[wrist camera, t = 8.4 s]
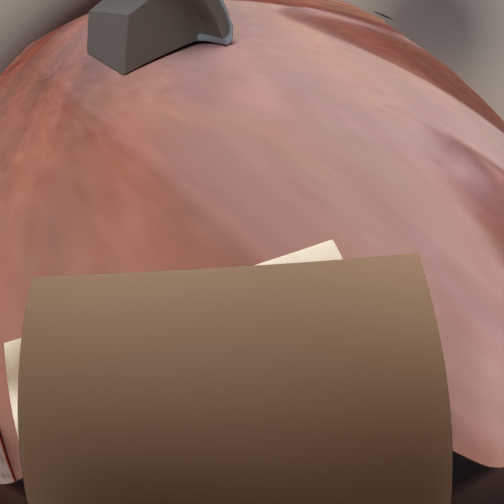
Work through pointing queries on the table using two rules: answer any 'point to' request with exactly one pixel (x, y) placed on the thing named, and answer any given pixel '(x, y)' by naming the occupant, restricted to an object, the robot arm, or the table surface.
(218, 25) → the touchscreen device
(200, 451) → the walnut block
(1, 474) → the cracker box
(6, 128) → the table surface
